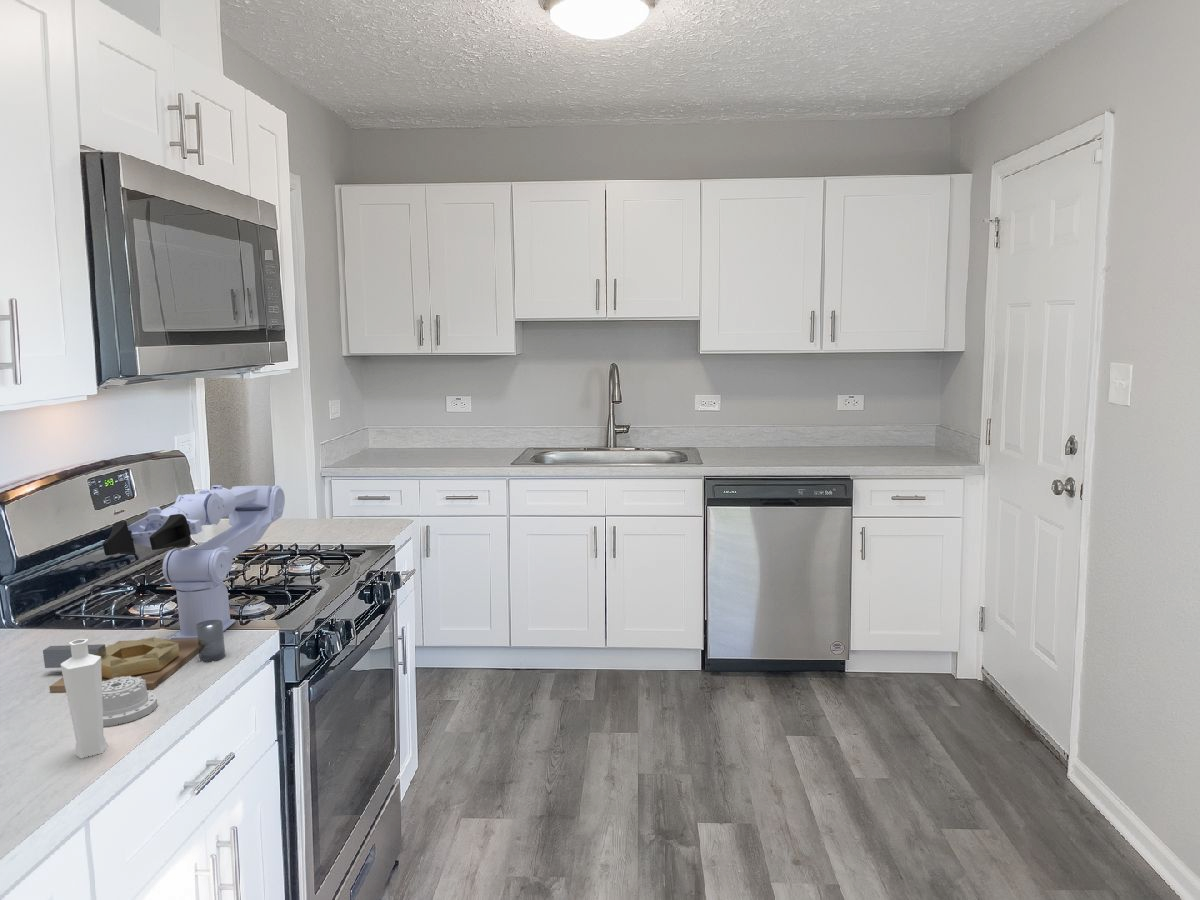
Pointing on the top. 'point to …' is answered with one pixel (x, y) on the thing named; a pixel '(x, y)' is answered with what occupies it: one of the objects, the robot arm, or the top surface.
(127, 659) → the handled hexagon ring
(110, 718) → the mechanical component
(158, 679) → the mount board
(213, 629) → the steel pin
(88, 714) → the perfume bottle
